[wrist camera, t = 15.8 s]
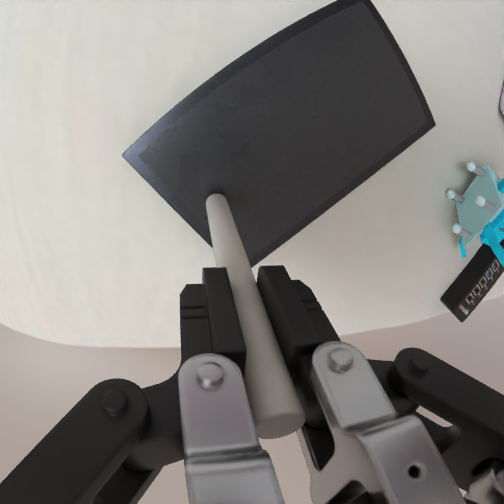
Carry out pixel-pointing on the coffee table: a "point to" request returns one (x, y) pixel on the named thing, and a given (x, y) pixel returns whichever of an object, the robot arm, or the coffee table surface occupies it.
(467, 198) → the toy
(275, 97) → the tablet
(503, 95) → the electronic device
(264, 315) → the stylus
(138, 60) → the coffee table surface
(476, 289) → the multiport hub
